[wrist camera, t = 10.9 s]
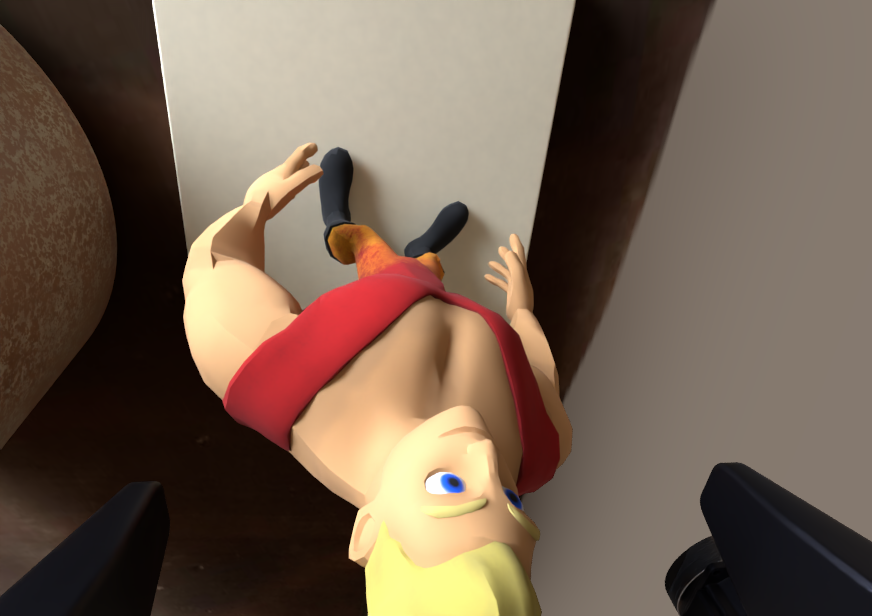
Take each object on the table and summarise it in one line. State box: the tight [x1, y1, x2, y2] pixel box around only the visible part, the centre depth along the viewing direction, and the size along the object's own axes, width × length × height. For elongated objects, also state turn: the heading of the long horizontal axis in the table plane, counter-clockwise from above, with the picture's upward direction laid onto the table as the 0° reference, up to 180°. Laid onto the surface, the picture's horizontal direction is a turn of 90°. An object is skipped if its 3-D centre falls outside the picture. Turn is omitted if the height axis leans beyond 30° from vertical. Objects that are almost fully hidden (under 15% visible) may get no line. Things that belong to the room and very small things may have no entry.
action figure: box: [182, 143, 573, 616], centre depth 12 cm, size 9×4×15 cm, turn 63°
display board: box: [152, 0, 576, 325], centre depth 18 cm, size 12×14×1 cm
